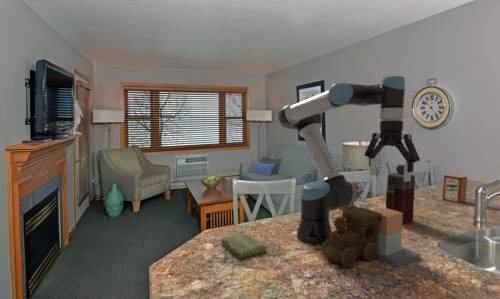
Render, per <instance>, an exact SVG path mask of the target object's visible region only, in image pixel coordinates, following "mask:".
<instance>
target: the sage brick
mask: <svg viewBox="0 0 500 299" xmlns="http://www.w3.org/2000/svg"><path fill="white" fill-rule="evenodd" d="M402 233H403V230H402V231H400V232H397V233H394V234H391V235H388V236H386V235H383V234H380V233H378V234H377V239H376V242H377V247H378V251H379V252H381V253H383V254H389V253H392V252H394V251H397V250H400V249H401V247H402Z"/></svg>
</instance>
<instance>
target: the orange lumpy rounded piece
mask: <svg viewBox="0 0 500 299" xmlns="http://www.w3.org/2000/svg"><path fill="white" fill-rule="evenodd" d="M350 182H351V181H350ZM351 183H353V185H354V186H355V188H356V191H357V197H356V200H357V199H359V197H360V196H361V192H360V191H359V190H360V186H359V185H358V184H356V183H355V181H352V182H351ZM352 208H359V207H358V206H357V205H355V203H354V204H353V205H351V206H349V207H346V208H344V209H338V211H339V212H340V211H342V212H343V211H344V210H347V209H352Z"/></svg>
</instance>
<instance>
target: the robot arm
mask: <svg viewBox="0 0 500 299" xmlns="http://www.w3.org/2000/svg"><path fill="white" fill-rule="evenodd" d="M405 82H406V80H405V77H403V76H400V75H390V76H384V77H383V78H382V79H381V83H379V84H356V83H355V84H354V83H347V82H337V83H333V84H332V85H331V86H330V88H329V90H326V91H324V92H321V93H319V94H316V95H314V96H311V97H310V98H307V99H304V100H302V101H300V102H299V101H298V102H297V103H289V104H286V105H285V106H282V108H281V109H280V110H279V112H278V114H277V115H278V116H277V118H278V121H279V124H280V125H281V127H283V128H286V129H287V130H288V129H289V130H297V132H298V135H299V136H301V137H303V139H304V141H305V144H306V146H307V148H308V150H309V154H310V155H311V157H312V161H313V163H314V165H315V168H316V171H317V172H318V175H319V177H320V179H321V180H318V181H309V182H306V183H304V184H303V185H302V186H301V191H300V192H301V193H300V198H301V200H300V206H301V207H300V222H299V225H298V228H297V230H296V237H297V239H298V240H300V241H301V242H303V243H307V244H312V245H323V244H324V242H325V240H327V239H328V238H329V234H330V232H333V230H332V226H331V223H330V219H329V218H330V217H329V216H330V212H332V211H336V210H339V209H344V208H346V207H349V206H351V205H353V204H354V205H355V203H356V201H357V199H356V197H357V192H358V191H356V188H355V186H354V185H353V184H354V183H351V181H349V180H347V179H346V176H345V175H344V174H342V173H340V172H339V169H338V167H337V165H336V163H335V161H334V159H333V156H332V154H331V151H330V149H329V147H328V145H327V143H326V141H325V138H324V136H323V134H322V132H321V128H322V123H323V120H322V119H323V113H325V112H328V111H332V110H334V109H337V108H341V107H343V106H347V105H351V106H352V105H354V106H360V107H361V106H362V107H365V106H366V107H367V106H374V105H375V106H376V105H380V111H379V112H380V113H379V114H380V115H379V118H380V120H381V121H380V122H379V130H380V132H372V134H371V135H372V137H371V139H370V142H369V144H368V145H367V147H366V150H365V152H364V157H367V158H368V166H369V168H370V169H369V176H376V175H377V167H378V166H377V164H378V163H377V162H378V158H377V157H376V156H378V154H379V153H380V152H381V151H382V149H384V147H388V146H389V147H395V149H397V151H398V152H399V153H400V154H401V156H402V157H403V158H404V160H405V161H406V162H404V165H405V167H404V181H405V182H407V181H410V180H411V174H412V173H413V172H414V163H416V162H420V161H421V158H420V156H419V154H418V152H417V150H416V149H417V148H416V147H415V145H414V143H413V140H412V134H411V133H406V134H403V130H404V121H403V119H404V110H405V109H404V108H405V93H406V92H405V90H406V88H405V87H406V85H405ZM402 140H403V141H404V142H403V141H402ZM405 146H406V147H405Z"/></svg>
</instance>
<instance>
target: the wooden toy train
mask: <svg viewBox="0 0 500 299" xmlns="http://www.w3.org/2000/svg"><path fill="white" fill-rule="evenodd" d="M379 222H382V214H380V213H378V212H377V211H375V210H372V209H369V208H366V207H358V208H352V209H347V210H344V211H343V210H342V216H337V217H336V218H335V219H334V220H333V224H334V227H335V229H336V230H332V232H330V234H329V238H328V239H327V240H325V242H324V244H322V248H321V249H322V251H321V252H322V254H323V255H324V256H325V257H327V258H329V259H331V260H332V261H334V262H335V263H340V264H341V266H342V268H350V267H353V265H354V264H355V263H356V260H357V258H358V257H361V256H362V258H363V259H364V260H365V261H369V262H370V261H373V260H374V259H376V258H377V257H376V256H377V253H378V247H377V242H376V239H377V234H378V223H379Z"/></svg>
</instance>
